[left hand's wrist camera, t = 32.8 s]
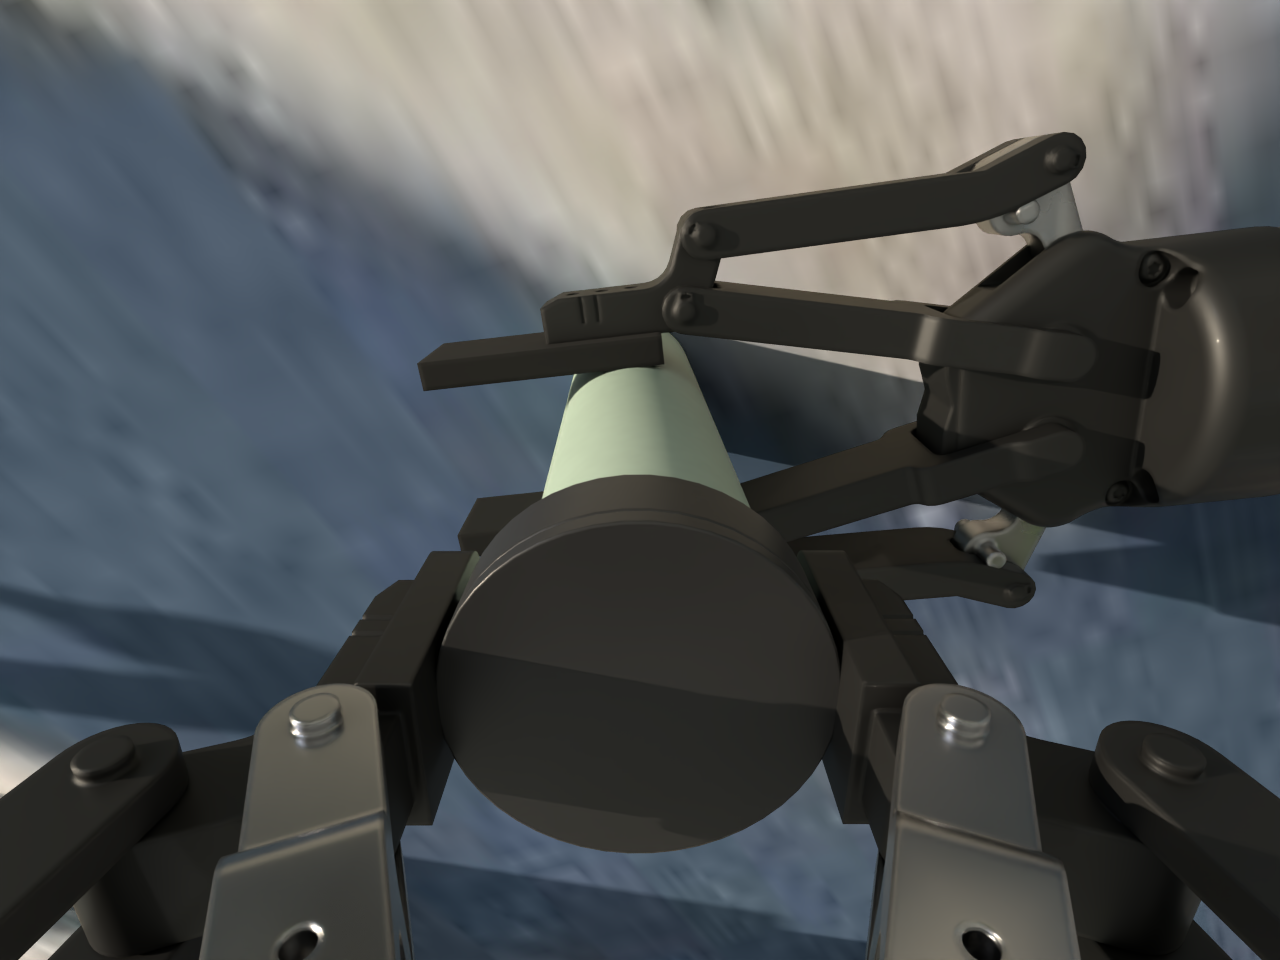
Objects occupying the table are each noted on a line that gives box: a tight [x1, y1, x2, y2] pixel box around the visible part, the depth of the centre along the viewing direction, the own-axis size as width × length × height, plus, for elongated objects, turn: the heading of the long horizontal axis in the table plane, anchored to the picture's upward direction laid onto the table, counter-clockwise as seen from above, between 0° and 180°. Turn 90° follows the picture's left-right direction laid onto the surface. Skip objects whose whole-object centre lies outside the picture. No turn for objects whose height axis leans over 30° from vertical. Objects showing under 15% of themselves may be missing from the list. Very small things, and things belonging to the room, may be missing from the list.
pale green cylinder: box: [542, 333, 750, 508], centre depth 19 cm, size 4×4×17 cm
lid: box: [435, 475, 841, 853], centre depth 10 cm, size 5×5×2 cm
